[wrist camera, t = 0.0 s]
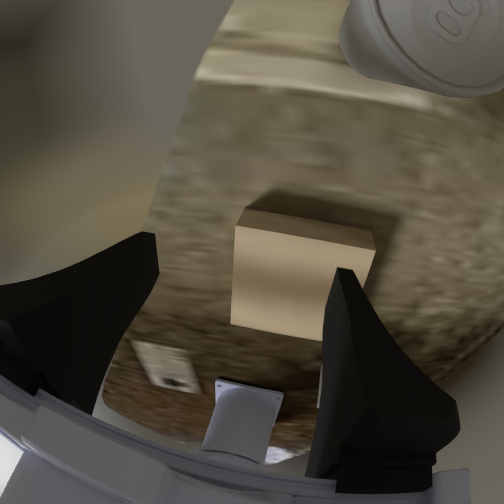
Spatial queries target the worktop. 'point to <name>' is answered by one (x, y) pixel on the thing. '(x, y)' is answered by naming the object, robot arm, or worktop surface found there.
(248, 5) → the worktop surface
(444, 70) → the beverage can
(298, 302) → the maple block
